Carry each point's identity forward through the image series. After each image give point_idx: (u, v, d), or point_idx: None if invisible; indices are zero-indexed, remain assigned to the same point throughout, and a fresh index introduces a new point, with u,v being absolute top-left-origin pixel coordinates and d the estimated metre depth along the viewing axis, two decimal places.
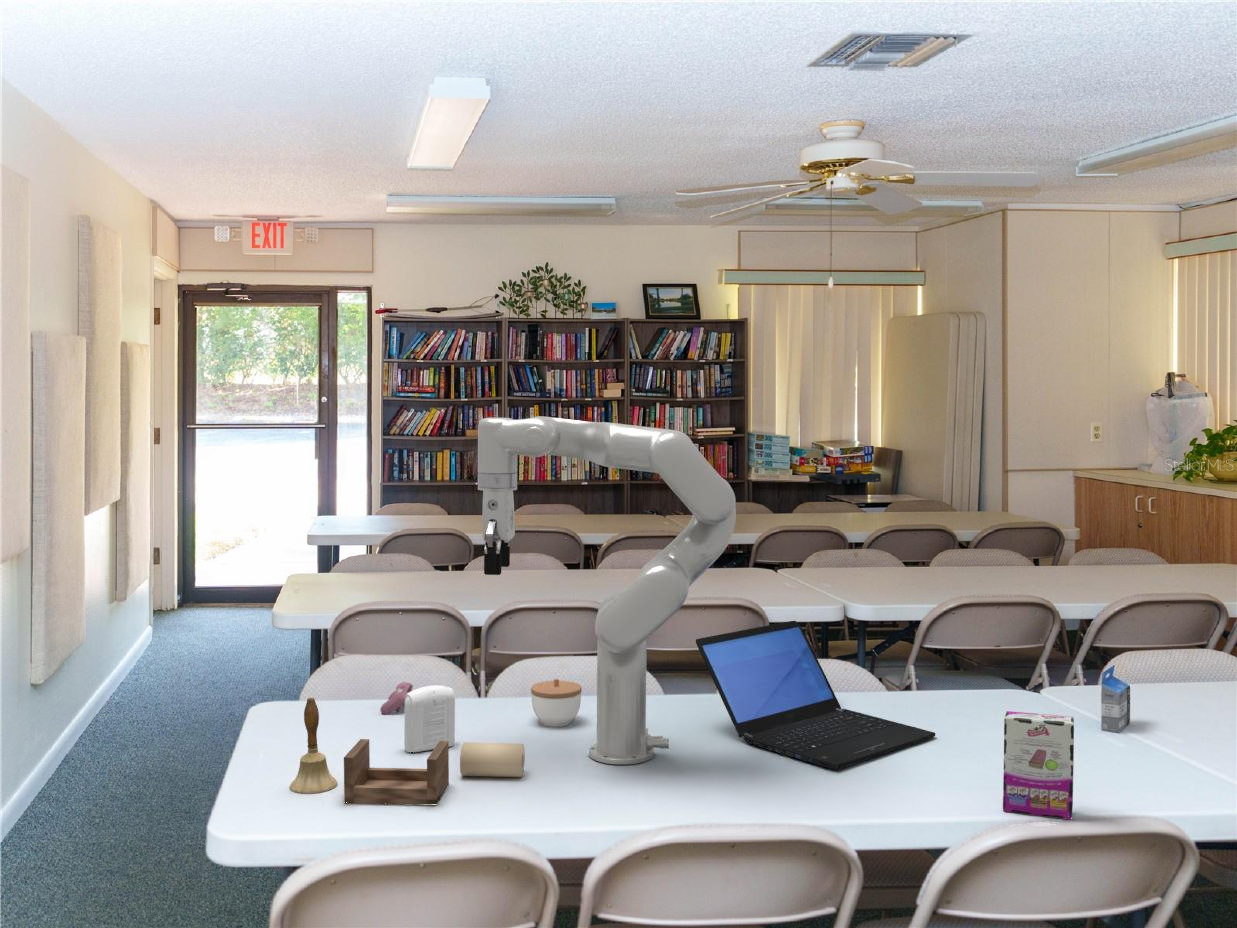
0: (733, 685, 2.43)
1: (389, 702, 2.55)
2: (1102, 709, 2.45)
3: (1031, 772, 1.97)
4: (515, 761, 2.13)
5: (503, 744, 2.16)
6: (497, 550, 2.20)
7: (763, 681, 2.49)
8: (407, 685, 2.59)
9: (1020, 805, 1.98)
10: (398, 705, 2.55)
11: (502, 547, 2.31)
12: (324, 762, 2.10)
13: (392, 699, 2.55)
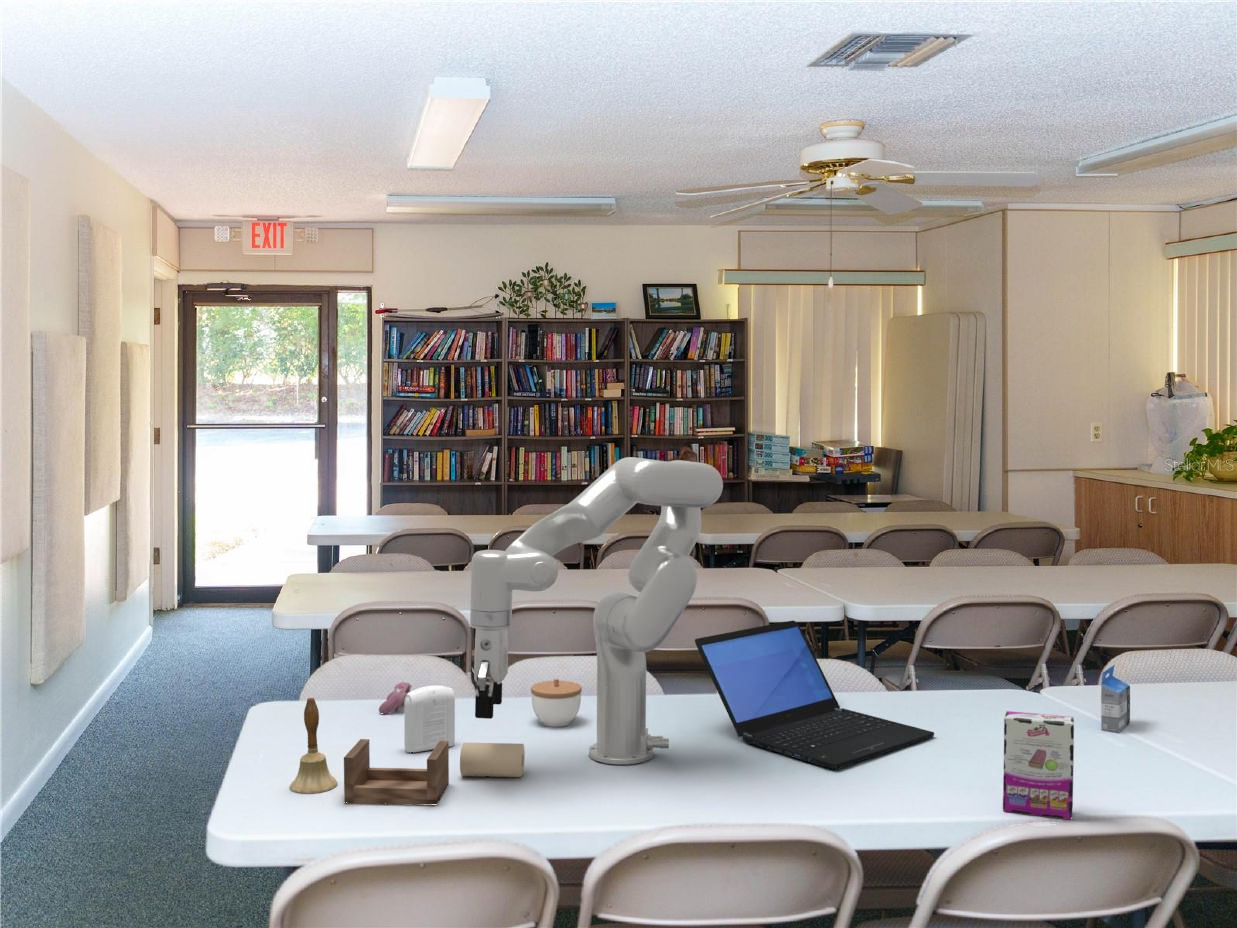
0: (732, 685, 2.43)
1: (388, 702, 2.55)
2: (1102, 709, 2.45)
3: (1031, 772, 1.97)
4: (515, 762, 2.13)
5: (503, 744, 2.16)
6: (489, 693, 2.09)
7: (762, 680, 2.49)
8: (405, 685, 2.59)
9: (1020, 805, 1.98)
10: (396, 705, 2.55)
11: (494, 684, 2.20)
12: (324, 762, 2.10)
13: (390, 699, 2.55)
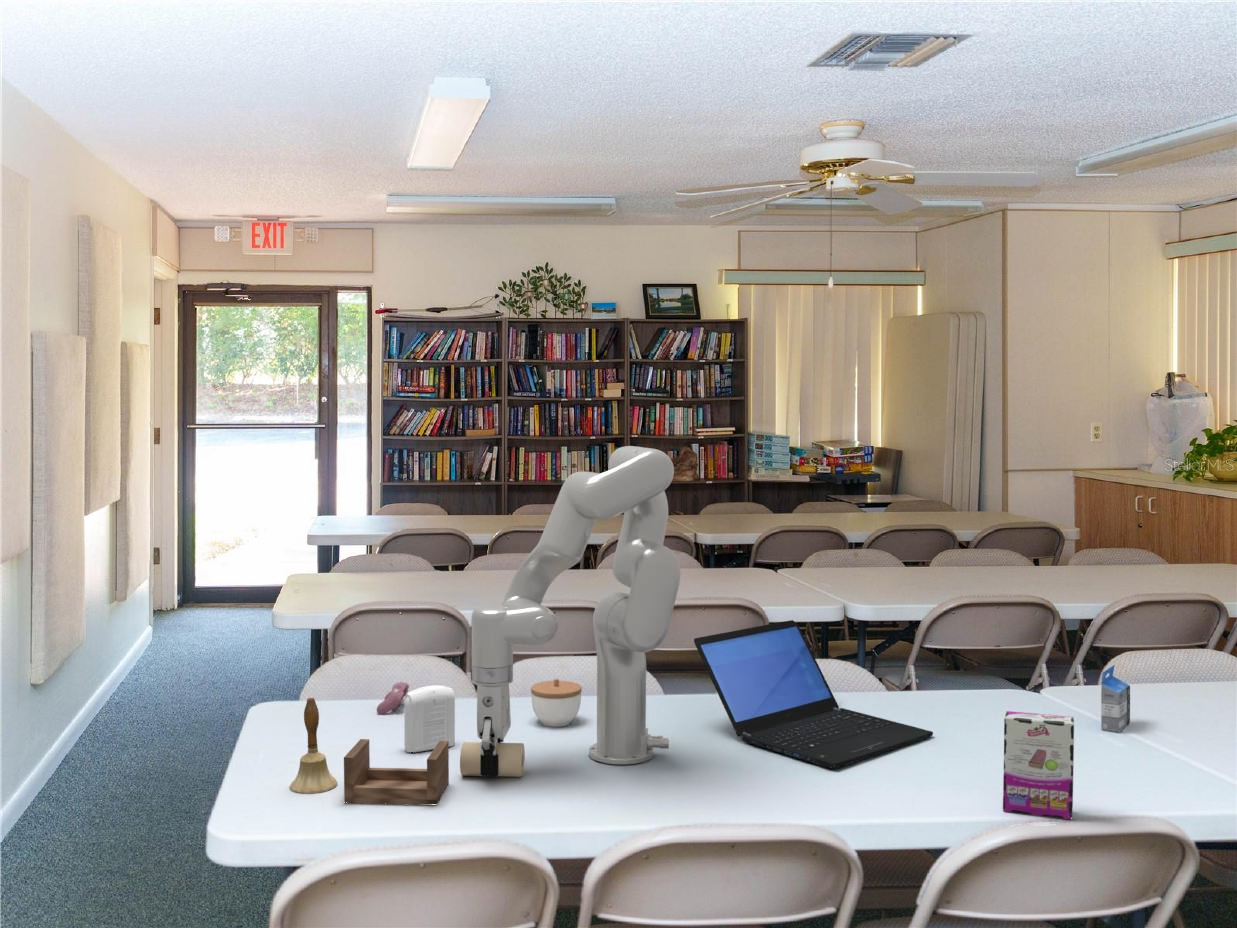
0: (731, 684, 2.43)
1: (385, 702, 2.55)
2: (1102, 709, 2.45)
3: (1031, 772, 1.97)
4: (515, 761, 2.13)
5: (503, 744, 2.16)
6: (494, 753, 2.12)
7: (761, 680, 2.49)
8: (403, 685, 2.59)
9: (1020, 805, 1.98)
10: (394, 705, 2.55)
11: None
12: (324, 762, 2.10)
13: (388, 699, 2.55)
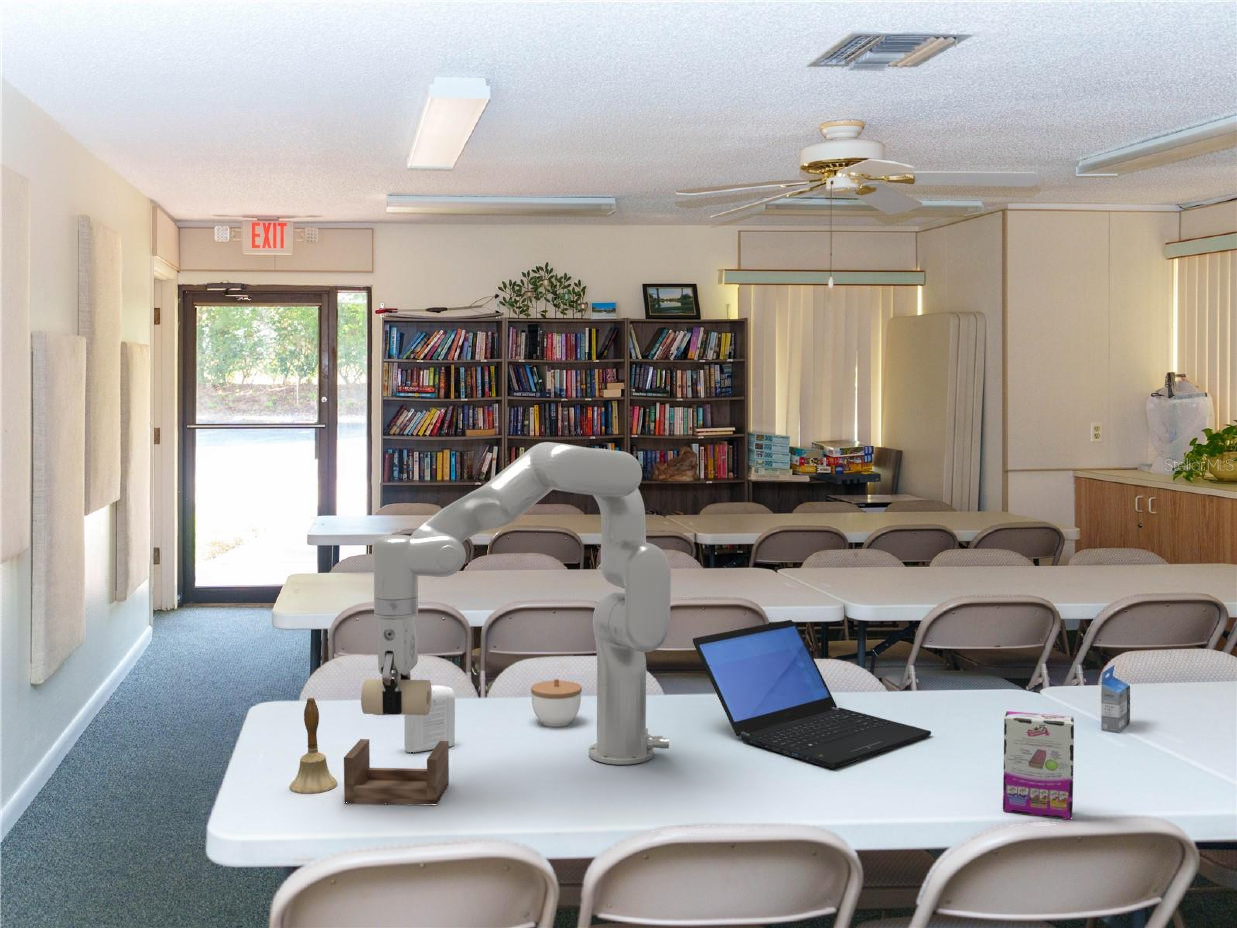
0: (730, 684, 2.44)
1: None
2: (1102, 709, 2.45)
3: (1031, 772, 1.97)
4: (419, 698, 2.02)
5: (407, 680, 2.05)
6: (396, 689, 2.01)
7: (759, 680, 2.49)
8: None
9: (1020, 805, 1.98)
10: None
11: None
12: (324, 762, 2.10)
13: None
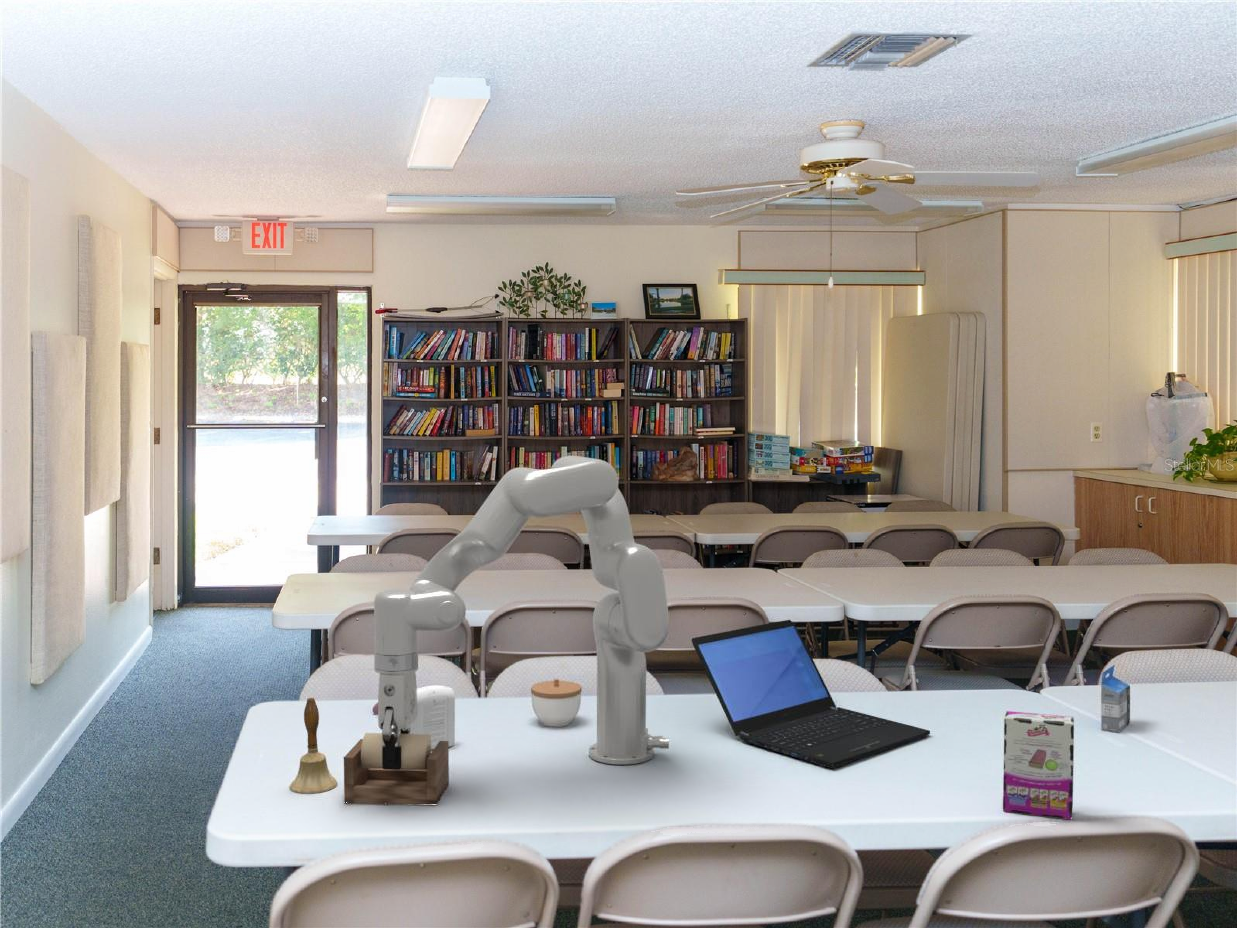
0: (729, 684, 2.44)
1: None
2: (1102, 709, 2.45)
3: (1031, 772, 1.97)
4: (419, 753, 2.03)
5: (407, 735, 2.05)
6: (396, 745, 2.01)
7: (759, 680, 2.50)
8: None
9: (1020, 805, 1.98)
10: None
11: None
12: (324, 762, 2.10)
13: None
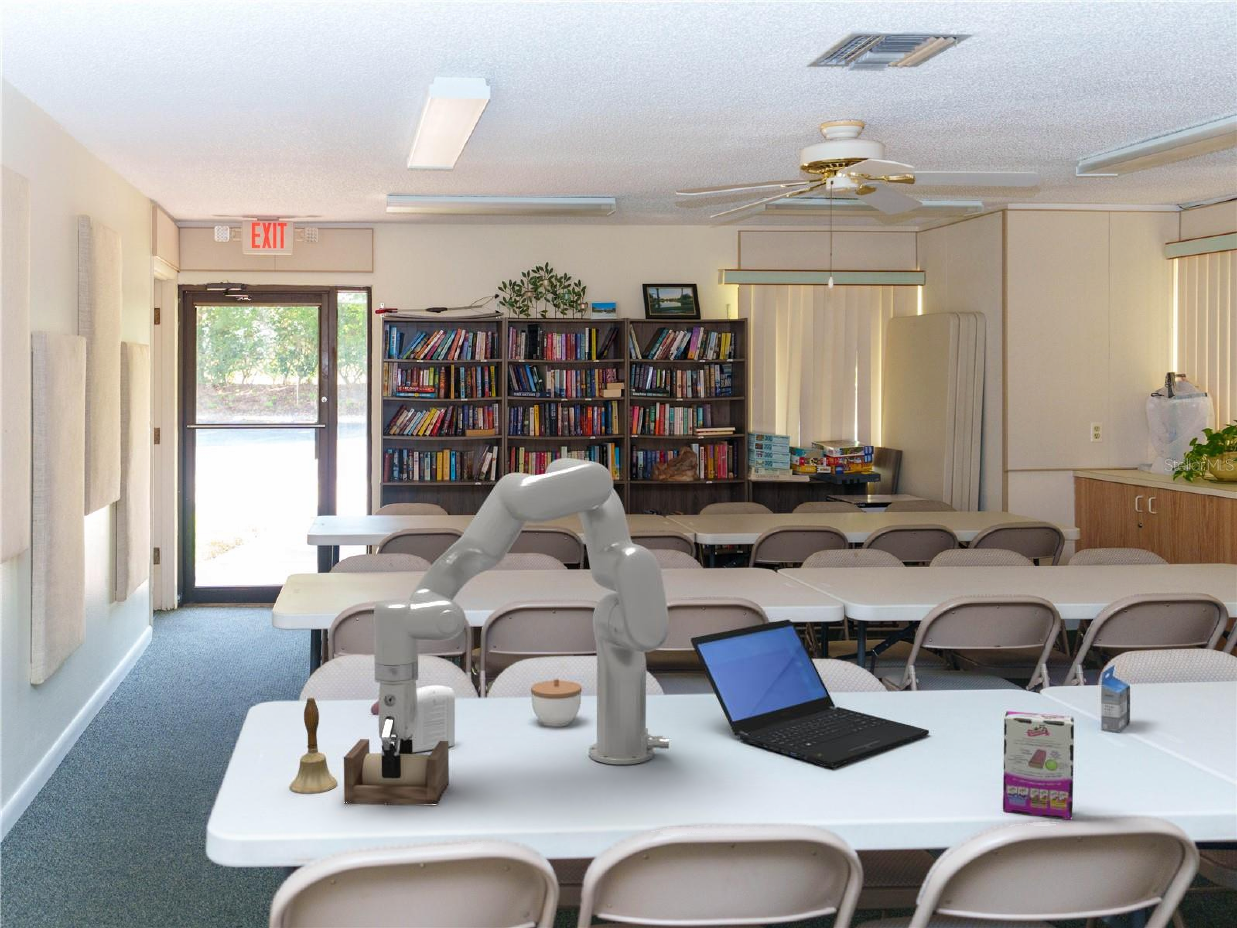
0: (728, 684, 2.44)
1: None
2: (1102, 709, 2.45)
3: (1031, 772, 1.97)
4: (420, 774, 2.03)
5: (408, 755, 2.06)
6: (395, 753, 2.00)
7: (758, 679, 2.50)
8: None
9: (1020, 805, 1.98)
10: None
11: (404, 741, 2.10)
12: (324, 762, 2.09)
13: None
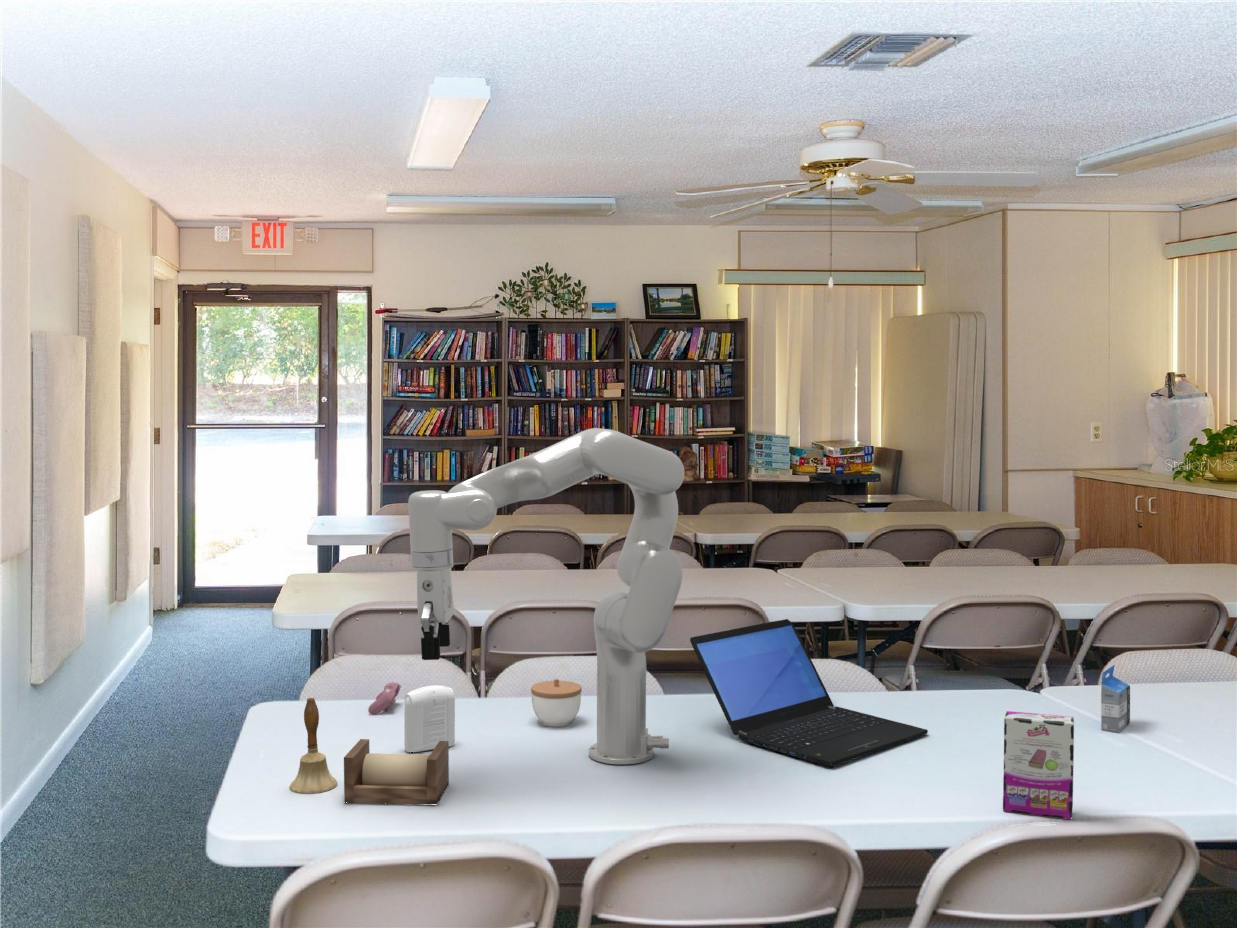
0: (727, 683, 2.44)
1: (377, 702, 2.55)
2: (1102, 709, 2.45)
3: (1031, 772, 1.97)
4: (420, 774, 2.03)
5: (408, 755, 2.06)
6: (434, 634, 2.07)
7: (757, 679, 2.50)
8: (395, 685, 2.59)
9: (1020, 805, 1.98)
10: (386, 705, 2.55)
11: (441, 626, 2.17)
12: (324, 762, 2.10)
13: (380, 699, 2.55)
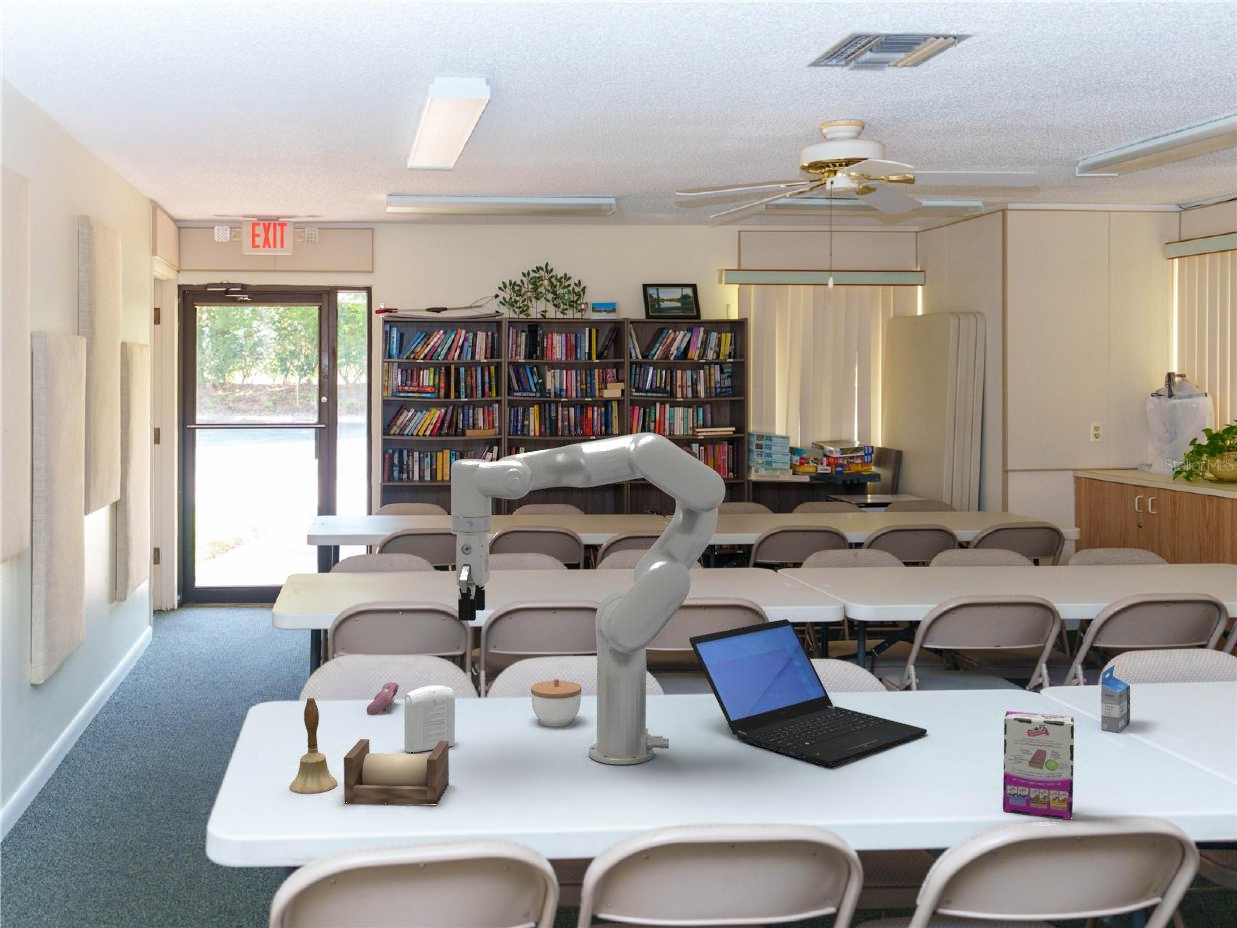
0: (726, 683, 2.45)
1: (375, 702, 2.55)
2: (1102, 709, 2.45)
3: (1031, 772, 1.97)
4: (420, 774, 2.03)
5: (408, 755, 2.06)
6: (471, 596, 2.15)
7: (756, 679, 2.50)
8: (393, 685, 2.59)
9: (1020, 805, 1.98)
10: (384, 705, 2.55)
11: (477, 590, 2.26)
12: (324, 762, 2.10)
13: (378, 699, 2.55)
